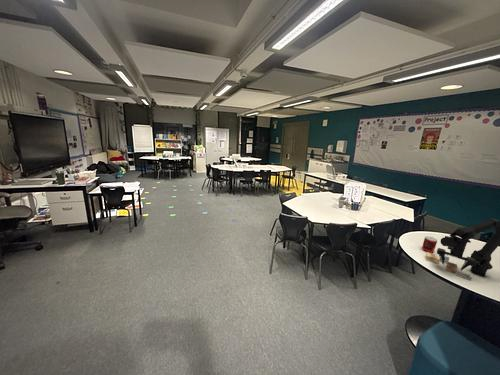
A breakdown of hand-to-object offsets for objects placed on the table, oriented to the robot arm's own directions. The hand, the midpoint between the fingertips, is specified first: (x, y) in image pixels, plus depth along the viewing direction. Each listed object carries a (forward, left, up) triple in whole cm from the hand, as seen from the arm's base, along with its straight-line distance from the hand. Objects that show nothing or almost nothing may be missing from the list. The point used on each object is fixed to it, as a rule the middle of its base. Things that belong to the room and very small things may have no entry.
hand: (451, 267), depth 140 cm
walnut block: (0, 0, -3) cm, 3 cm away
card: (-6, +1, -3) cm, 7 cm away
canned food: (+13, -23, -3) cm, 27 cm away
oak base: (+10, -7, -3) cm, 13 cm away
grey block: (+4, -12, -3) cm, 13 cm away
